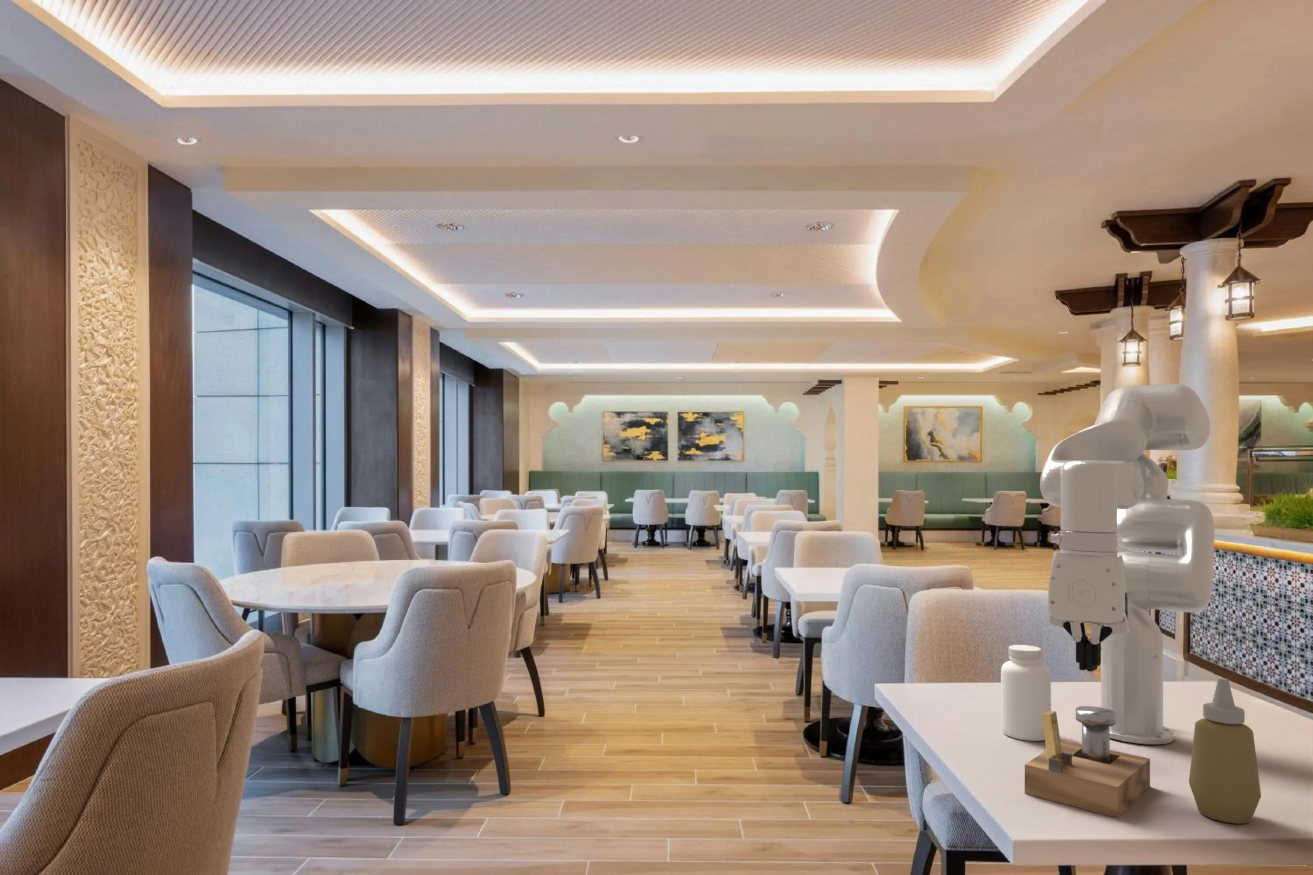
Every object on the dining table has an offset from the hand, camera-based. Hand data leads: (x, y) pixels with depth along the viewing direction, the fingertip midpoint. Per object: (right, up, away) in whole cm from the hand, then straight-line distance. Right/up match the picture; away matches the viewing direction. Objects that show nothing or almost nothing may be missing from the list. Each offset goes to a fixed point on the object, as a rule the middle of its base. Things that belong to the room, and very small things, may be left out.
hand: (1088, 669), depth 126 cm
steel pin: (+1, -17, 0) cm, 17 cm away
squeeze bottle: (+12, -17, -12) cm, 24 cm away
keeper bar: (-7, -8, -5) cm, 12 cm away
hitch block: (-2, -17, -3) cm, 17 cm away
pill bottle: (0, -18, +23) cm, 29 cm away
